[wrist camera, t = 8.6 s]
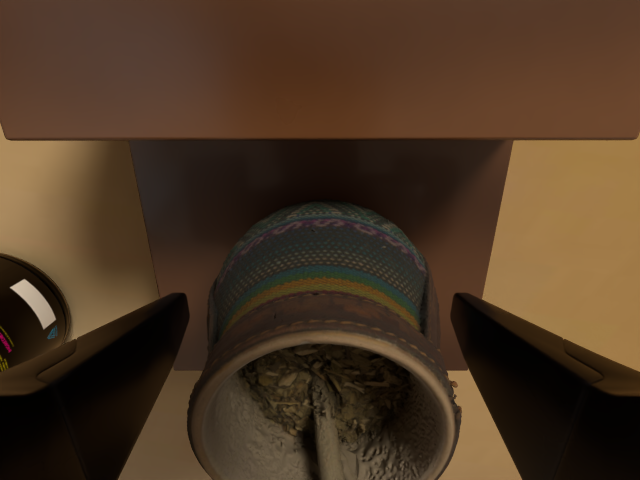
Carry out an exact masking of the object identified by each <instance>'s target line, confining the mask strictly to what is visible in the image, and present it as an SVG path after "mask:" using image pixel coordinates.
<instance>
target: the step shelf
mask: <svg viewBox="0 0 640 480" xmlns="http://www.w3.org/2000/svg"><path fill="white" fill-rule="evenodd" d="M0 123H1V126H2V129H3V132H4V135H5V137H6V139H8V140H11V141H129V145H130V150H131V155H132V160H133V165H134V170H135V175H136V181H137V186H138V191H139V196H140V201H141V206H142V211H143V216H144V221H145V226H146V231H147V236H148V241H149V246H150V251H151V256H152V261H153V266H154V271H155V276H156V281H157V286H158V291H159V297H160V298H162V297H164V296H167V295H169V294H171V293H185V294H186V296H187V300H188V306H189V312H190V319H189V323H188V326H187V329H186V331H185V334H184V337H183V340H182V343H181V346H180V349H179V352H178V354H177V357H176V360H175V362H174V364H173V367H174V370H204V367H205V362H206V361H207V356H208V350H207V346H208V340H207V337H208V335H207V303H208V302H207V300H208V299H209V298H208V295H209V291H210V289H211V286H212V285H213V282H214V281H215V279H216V278H217V276H218V275H219V273H220V271H221V268H222V267H223V262H224V261H225V260H226V257H227V255H228V254H229V253H230V250H232V248H233V247H234V246H235V244H236V243H237V242H238V240H239V239H240V238H241V237H243V236H244V235H245V233H246V232H247V231H248V230H249V229H250V228H251V227H252V225H255V224H256V223H257V222H259V221H260V220H261V219H263V218H265V217H266V216H268V215H270V213H273V212H275V211H277V210H278V209H281V208H284V207H285V206H289V205H293V204H296V203H299V202H302V201H303V202H304V201H311V200H314V199H316V200H319V199H329V198H330V199H332V200H342V201H349V202H351V203H352V202H354V203H356V204H359V205H360V206H362V207H367V208H369V209H370V210H373V211H375V212H376V213H378V214H380V215H381V216H383V217H384V218H386V219H387V220H389V221H392V222H394V224H395V225H397V227H398V228H399V229H401V230H402V231H403V233H404V234H405V235H406V236H407V237H408V239H409V240H411V242H413V244H414V246H415V247H416V248H417V249H418V250H419V251H420V253H422V254H423V256H424V257H425V258H426V260H427V262H428V264H429V267H430V270H431V273H432V278H433V282H434V287H435V290H436V294H437V298H438V303H439V318H440V332H441V338H440V352H441V355H442V356H443V358H444V364H445V367H446V370H468V366H467V364H466V362H465V360H464V357H463V354H462V352H461V349H460V346H459V343H458V340H457V337H456V334H455V331H454V329H453V326H452V323H451V319H450V312H451V306H452V300H453V296H454V294H455V293H469V294H471V295H473V296H476V297H478V298H480V299H482V296H483V291H484V286H485V281H486V276H487V271H488V266H489V261H490V256H491V251H492V246H493V241H494V236H495V231H496V226H497V221H498V216H499V211H500V205H501V200H502V195H503V190H504V185H505V180H506V175H507V170H508V165H509V160H510V155H511V150H512V145H513V140H634V139H637V137H638V135H639V132H640V0H0Z"/></svg>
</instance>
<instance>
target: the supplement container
mask: <svg viewBox="0 0 640 480" xmlns="http://www.w3.org/2000/svg"><path fill="white" fill-rule="evenodd" d="M69 325H70V315H69V309H68V305H67V302H66V300H65V297H64V295H63V294H62V292H61V290H60V289H59V287H58V286H57V285H56V284H55V282H54V281H53V280H52V279H51V278H50V277H49V276H48V275H46V274H45V273H44V272H43V271H41V270H40V269H39V268H37V267H36V266H34V265H32V264H30V263H28V262H26V261H24V260H22V259H19V258H17V257H14V256H11V255H7V254H2V253H0V372H1V371H4V370H6V369H9V368H11V367H13V366H16V365H18V364H21V363H23V362H25V361H28V360H30V359H32V358H34V357H37V356H39V355H41V354H44V353H46V352H48V351H50V350H53V349H55V348H57V347H59V346H61V345H62V343H63V342H64V340H65V338H66V335H67V333H68V330H69Z"/></svg>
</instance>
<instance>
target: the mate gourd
mask: <svg viewBox="0 0 640 480" xmlns="http://www.w3.org/2000/svg"><path fill="white" fill-rule="evenodd" d="M208 298H209V299H208V300H207V302H208V303H207V335H208V337H207V340H208V346H207V350H208V356H207V361H206V362H205V367H204V370H203V372H202V374H201V377H200V378H199V380H198V381H197V382H196V383H195V386H194V389H193V391H192V393H191V395H190V400H189V408H188V411H187V415H188V417H187V431H188V436H189V440H190V444H191V447H192V450H193V452H194V454H195V456H196V458H197V459H198V461H199V463H200V464H201V466H202V467H203V469H204V470H205V471H206V472H207V473H208V475H209V476H210V477H211V478H212V479H213V480H438V479H439V477H440V476H441V475H442V473H443V472H444V471H445V469H446V468H447V466H448V464H449V463H450V461H451V459H452V456H453V454H454V451H455V448H456V445H457V442H458V438H459V432H460V431H459V430H460V425H461V417H462V416H461V413H462V410H461V407H460V406H458V407H457V404H456V403H455V402H454V399H455V398H456V397H457V396H456V395H455V394H454V390H453V388H452V386H453V387H457V386H458V385H457V383H456V382H455V381H453V382H452V381H449V378H448V373H447V371H446V367H445V364H444V358H443V356H442V355H441V352H440V338H441V332H440V318H439V303H438V298H437V294H436V290H435V287H434V282H433V278H432V273H431V270H430V267H429V264H428V262H427V260H426V258H425V257H424V256H423V254H422V253H420V251H419V250H418V249H417V248H416V247H415V246H414V244H413V242H411V240H409V239H408V237H407V236H406V235H405V234H404V233H403V231H402V230H401V229H399V228H398V227H397V225H395V224H394V222H392V221H389V220H387V219H386V218H384V217H383V216H381V215H380V214H378V213H376V212H375V211H373V210H370V209H369V208H367V207H362V206H360V205H359V204H356V203H354V202H352V203H351V202H349V201H342V200H332V199H330V198H329V199H319V200H316V199H314V200H311V201H304V202H303V201H302V202H299V203H296V204H293V205H289V206H285V207H284V208H281V209H278V210H277V211H275V212H273V213H270V215H268V216H266V217H265V218H263V219H261V220H260V221H259V222H257V223H256V224H255V225H252V227H251V228H250V229H249V230H248V231H247V232H246V233H245V235H244V236H243V237H241V238H240V239H239V240H238V242H237V243H236V244H235V246H234V247H233V248H232V250H230V253H229V254H228V255H227V257H226V260H225V261H224V262H223V267H222V268H221V271H220V273H219V275H218V276H217V278H216V279H215V281H214V282H213V285H212V286H211V289H210V291H209V295H208ZM451 385H452V386H451ZM453 394H454V397H452V396H453Z"/></svg>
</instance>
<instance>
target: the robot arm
mask: <svg viewBox="0 0 640 480" xmlns="http://www.w3.org/2000/svg"><path fill="white" fill-rule="evenodd" d="M189 319H190V312H189V306H188V300H187V296H186V294H185V293H171V294H169V295H167V296H164V297H162V298H160V299H158V300H156V301H154V302H152V303H150V304H148V305H146V306H143V307H141V308H139V309H137V310H135V311H133V312H131V313H129V314H127V315H125V316H122V317H120V318H118V319H116V320H114V321H112V322H110V323H108V324H106V325H103V326H101V327H99V328H97V329H95V330H93V331H91V332H89V333H87V334H85V335H82V336H80V337H78V338H77V340H76V339H74V340H72V341H70V342H68V343H65V344H63V345H61V346H59V347H57V348H55V349H53V350H50V351H48V352H46V353H44V354H41V355H39V356H37V357H34V358H32V359H30V360H28V361H25V362H23V363H21V364H18V365H16V366H13V367H11V368H9V369H6V370H4V371H1V372H0V480H118V478H119V476H120V474H121V472H122V470H123V468H124V465H125V463H126V461H127V459H128V457H129V455H130V453H131V451H132V449H133V447H134V445H135V443H136V441H137V439H138V437H139V434H140V432H141V430H142V428H143V426H144V424H145V422H146V420H147V418H148V416H149V414H150V412H151V410H152V408H153V406H154V403H155V401H156V399H157V397H158V395H159V393H160V391H161V389H162V387H163V385H164V383H165V381H166V379H167V377H168V375H169V372H170V370H171V368H172V366H173V364H174V362H175V360H176V357H177V354H178V352H179V349H180V346H181V343H182V340H183V337H184V334H185V331H186V329H187V326H188V323H189ZM450 319H451V323H452V326H453V329H454V331H455V334H456V337H457V340H458V343H459V346H460V349H461V352H462V354H463V357H464V360H465V362H466V364H467V366H468V368H469V370H470V372H471V375H472V377H473V379H474V381H475V383H476V385H477V387H478V389H479V391H480V393H481V395H482V397H483V399H484V401H485V403H486V406H487V408H488V410H489V412H490V414H491V416H492V418H493V420H494V422H495V424H496V426H497V428H498V430H499V432H500V434H501V437H502V439H503V441H504V443H505V445H506V447H507V449H508V451H509V453H510V455H511V457H512V459H513V461H514V463H515V465H516V468H517V470H518V472H519V474H520V476H521V478H522V480H640V372H639V371H636V370H634V369H631V368H629V367H627V366H624V365H622V364H619V363H617V362H615V361H612V360H610V359H608V358H606V357H603V356H601V355H599V354H596V353H594V352H592V351H590V350H587V349H585V348H583V347H581V346H579V345H577V344H575V343H572V342H570V341H568V340H566V339H564V340H563V338H562V337H560V336H558V335H555V334H553V333H551V332H549V331H547V330H545V329H543V328H541V327H539V326H537V325H534V324H532V323H530V322H528V321H526V320H524V319H522V318H520V317H518V316H515V315H513V314H511V313H509V312H507V311H505V310H503V309H501V308H499V307H497V306H494V305H492V304H490V303H488V302H486V301H484V300H482V299H480V298H478V297H476V296H473V295H471V294H469V293H455V294H454V296H453V300H452V306H451V312H450Z"/></svg>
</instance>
